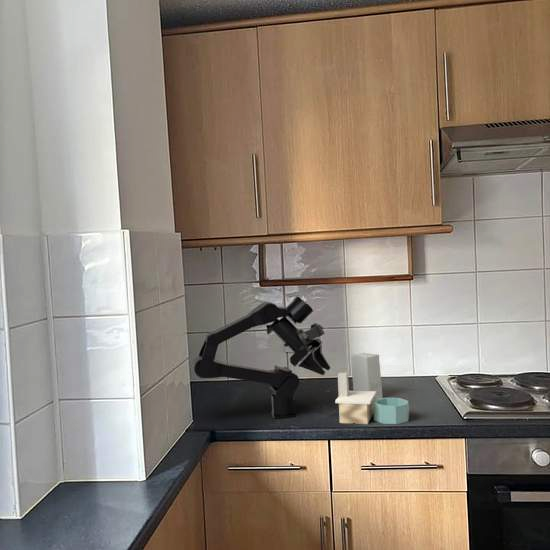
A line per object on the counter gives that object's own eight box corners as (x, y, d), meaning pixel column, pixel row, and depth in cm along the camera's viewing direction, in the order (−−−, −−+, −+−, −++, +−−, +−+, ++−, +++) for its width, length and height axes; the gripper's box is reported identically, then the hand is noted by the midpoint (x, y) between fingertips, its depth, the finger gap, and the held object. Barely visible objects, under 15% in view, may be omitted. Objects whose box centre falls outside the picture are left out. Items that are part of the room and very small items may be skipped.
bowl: (372, 423, 168) (371, 405, 168) (377, 413, 177) (376, 397, 177) (406, 424, 165) (406, 406, 165) (409, 415, 174) (409, 398, 174)
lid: (335, 403, 170) (334, 377, 169) (343, 393, 181) (342, 369, 181) (370, 404, 167) (369, 378, 166) (376, 393, 178) (375, 369, 178)
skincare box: (383, 399, 193) (381, 354, 193) (369, 403, 190) (367, 357, 189) (365, 395, 200) (363, 351, 200) (352, 398, 197) (350, 354, 196)
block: (339, 422, 170) (338, 403, 169) (347, 411, 181) (346, 393, 181) (367, 424, 167) (366, 404, 167) (373, 412, 179) (373, 394, 178)
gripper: (299, 319, 168) (338, 358, 165) (314, 312, 186) (350, 347, 183) (273, 346, 171) (312, 385, 168) (291, 337, 189) (326, 372, 186)
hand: (326, 371), depth 176 cm, fingers open, 7 cm apart
